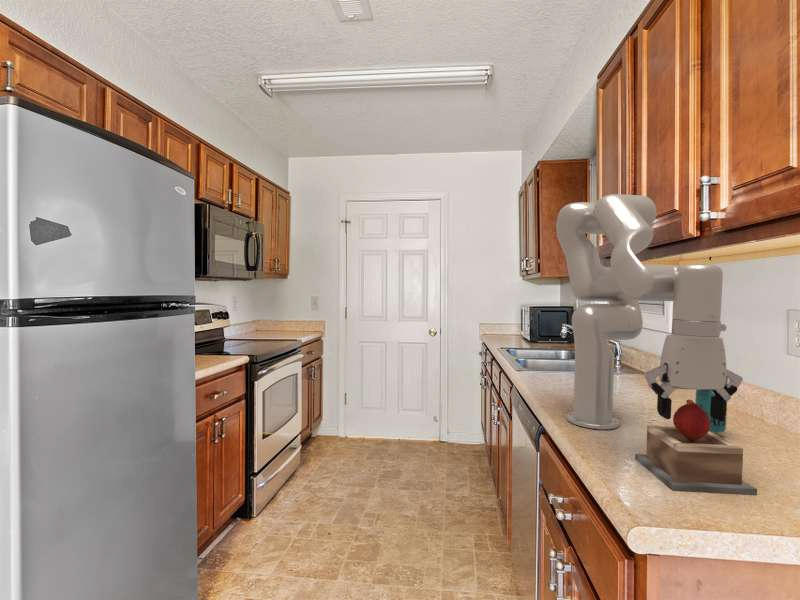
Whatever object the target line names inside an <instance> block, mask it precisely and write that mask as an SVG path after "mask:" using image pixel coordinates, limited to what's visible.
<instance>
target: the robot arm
mask: <svg viewBox="0 0 800 600" xmlns="http://www.w3.org/2000/svg"><path fill="white" fill-rule="evenodd" d="M657 214H658V213H657V206H656V204H655V202H654V200H652V198H649V197H648V196H645V195H639V194H623V193H622V194H621V193H620V194H619V193H618V194H617V193H614V194H613V193H611V194H608V195H604V196H602V197H601V198H599V199H598V200H597V201H596V202H589V201H588V202H587V201H582V202H581V201H579V202H571V203H567V204H566V205H565V206H563V207H562V208H561V209H560V211H559V212H558V214H557V218H556V229H555V231H556V236H557V240H558V242H559V245H560V247H561V249H562V252H563V254H564V257H565V261H566V266H567V267H566V268H567V271H568V278H569V283H570V287H571V291H572V295H573V296H574V298H576V299H577V300H579V301H583V302H604V303H588V304H587V303H586V304H582V305H581V306H579V307H577V308H576V309H575V310H574V311H573V313H572V316H571V326H572V327H571V328H572V332H573V340H574V376H573V377H574V380H573V381H574V382H573V384H574V385H573V410H572V411H571V412H568V413H567V415H566V420H567V421H568V422H570V423H571V424H573V425H577V426H579V427H583V428H586V429H593V430H594V429H595V430H613V429H614V430H615V429H617V428H618V427H620V426H619V425H620V420H618V419H617V418H616V417H614V416H613V415H614V414H613V412H614V411H613V410H614V407H613V406H614V380H615V379H614V378H615V377H614V375H615V374H614V373H615V357H614V354H613V351H612V349H611V348H610V346H609V345H608V342H607V341H622V340H623V341H626V340H627V341H628V340H633V339H636V338H637V337H639V335H640V334H641V332H642V330H643V325H644V323H643V315H642V311H641V306H640V302H639V301H641V302H643V301H644V302H649V301H650V302H651V301H652V302H672V313H671V315H672V316H671V317H672V319H671V334H666V337H665V339H664V342H663V346H662V352H661V357H660V363H659V366H657V367H654V368H653V369H650V370H647V371H645V372H644V373H643V375H644V376H643V377H644V378H645V380H646V382H647V384H648V387H649V388H650V389H651V390H652V391H653V392H654V393H655V395H657V403H656V412H657V413H658V415H659V416H660V417H662V418H664V419H665V420H670V419H671V418H672V402H673V401H672V398H670V396H671V395H672V394H673V393H674V392H675V391H676V390H677V389H678V390H688V391H689V390H693V391H696V390H711V391H712V393H713V394H714V395H715V396H712V398H711V407H710V416H711V417H713V418H715V419H717V420H719V421H725V415H726V414H727V411H726V405H727V406H728V404H727V403H728V401H730V400H731V399H732V398H731V397H732V396H733V395H735V393H736V392H737V391H738V388H739V387H740V385H741V384H742V382H743V380H744V379H743V377H742V376H740V375H739V374H737V373H734V372H733V371H732V370H729V369H728V368H727V356H726V355H727V354H726V349H725V344H724V339H723V338H721V336H720V335H721V332H726V330H727V325H726V324H725V323H724V324H722V321H721V316H722V315H721V313H722V297H723V296H722V295H723V294H722V293H723V281H724V280H723V278H724V273H723V269H722V268H721V267H720V266H719V265H714V264H684V265H683V264H682V265H678V264H677V265H676V264H673V265H672V264H655V263H654V264H649V263H646V264H645V263H642V262H641V261H640V259H639V258H638V257H637V256H636V255H637V254H639V253H642V251H644V250H645V249H646V248H648V246H650V244H651V243H652V242H653V238H654V229H653V228H652V226H651V225H653V224H654V222H655V220H656V218H657ZM586 234H587V235H588V234H590V235H591V234H592V235H605V236H606V237H607V239H608V241H609V242H610V244H611V245H612V247H613V249H612V252H611V255H610V266H604V265H602V263H601V260H600V255H599V251H598V249H597V248H596V246H595V244H594V243H593V241H591V240H590V239H589V238H588V237H587V236H586ZM605 302H606V303H605ZM607 302H608V303H607ZM657 377H658V379H659V381H660V382H661V383H660V384H659V383H658V381H657ZM726 377H727V378H728V384H727V385H725V384H726Z"/></svg>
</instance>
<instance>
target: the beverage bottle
mask: <svg viewBox="0 0 800 600" xmlns="http://www.w3.org/2000/svg"><path fill="white" fill-rule="evenodd" d="M728 382H729V378H727V377H726V384H725V385H727V384H728ZM694 394H695V401H694V403H695V404H696V405H698V406H699V407H700V408H701V409H703V410H704V411H705V413H706V414H707V415H708V417H709V419H710V424H711V426H710V430H709V431H710V432H712V433H718V434H719V433H725V432H726V429H727V425H728V424H727V420H728V419H727V415H728V413H726V415H725V421H719V420H717V419H715V418H713V417H711V416H710V407H711V398H712V396H715V395H714V394H713V393H712V391H711V390H695V393H694ZM726 412H728V402H727V405H726Z"/></svg>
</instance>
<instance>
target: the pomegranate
mask: <svg viewBox="0 0 800 600" xmlns="http://www.w3.org/2000/svg"><path fill="white" fill-rule="evenodd" d="M672 421H673V426H674V427H676V429H677V430H678V431H679V432H680V433H681V434H682V435H683V436H684V437H686V438H687V439H688V440H689V441H692V442H693V441H695V440H698V439H700V438H702V437H704V436H705V435H706V434H707V433H708V432H709V430H710V426H711V424H710V419H709V417H708V415H707V414H706V413H705V411H704V410H703V409H701V408H700V407H699V406H698V405H696V402H695V401H693V399H687V400H686V404H683V405H681V406H680V407H678V408H677V410H675V412H674V415H673V418H672Z"/></svg>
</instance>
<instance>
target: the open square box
mask: <svg viewBox="0 0 800 600" xmlns="http://www.w3.org/2000/svg"><path fill="white" fill-rule="evenodd" d="M634 459H635V460H637V462H638V463H640V464H641V466H643V467H645V468H646V469H647V470H648V471H649V472H650V473H651V474H652V475H654V476H655V477H656V478H657V479H659V480H660V481H661V482H662V483H663V484H665V485H666V486H667V487H668V488H669V489H671V490H672V491H674V492H675V491H677V492H680V491H681V492H694V493H695V492H696V493H711V494H712V493H714V494H715V493H716V494H731V495H732V494H734V495H750V496H751V495H752V496H757V495H758V489H757V488H756V487H754V486H753V485H751V484H749V483H748V482H747V481H745V480H743V464H744V448H743V447H740V446H739V445H737V444H735V443H733V442H731V441H729V440H727V439H725V438H723V437H721V436H719V435H718V434H715V432H710V431H709V432H708V433H707V434H706V435H705V436H704V437H702V438H700V439H698V440H695V441H693V442H692V441H689V440H688V439H687V438H686V437H684V436H683V435H682V434H681V433H680V432H679V431H678V430H677V429H676V427H675V426H660V425H659V426H657V425H656V426H655V425H647V427H646V454H644V453H643V454H642V453H635V454H634Z"/></svg>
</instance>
